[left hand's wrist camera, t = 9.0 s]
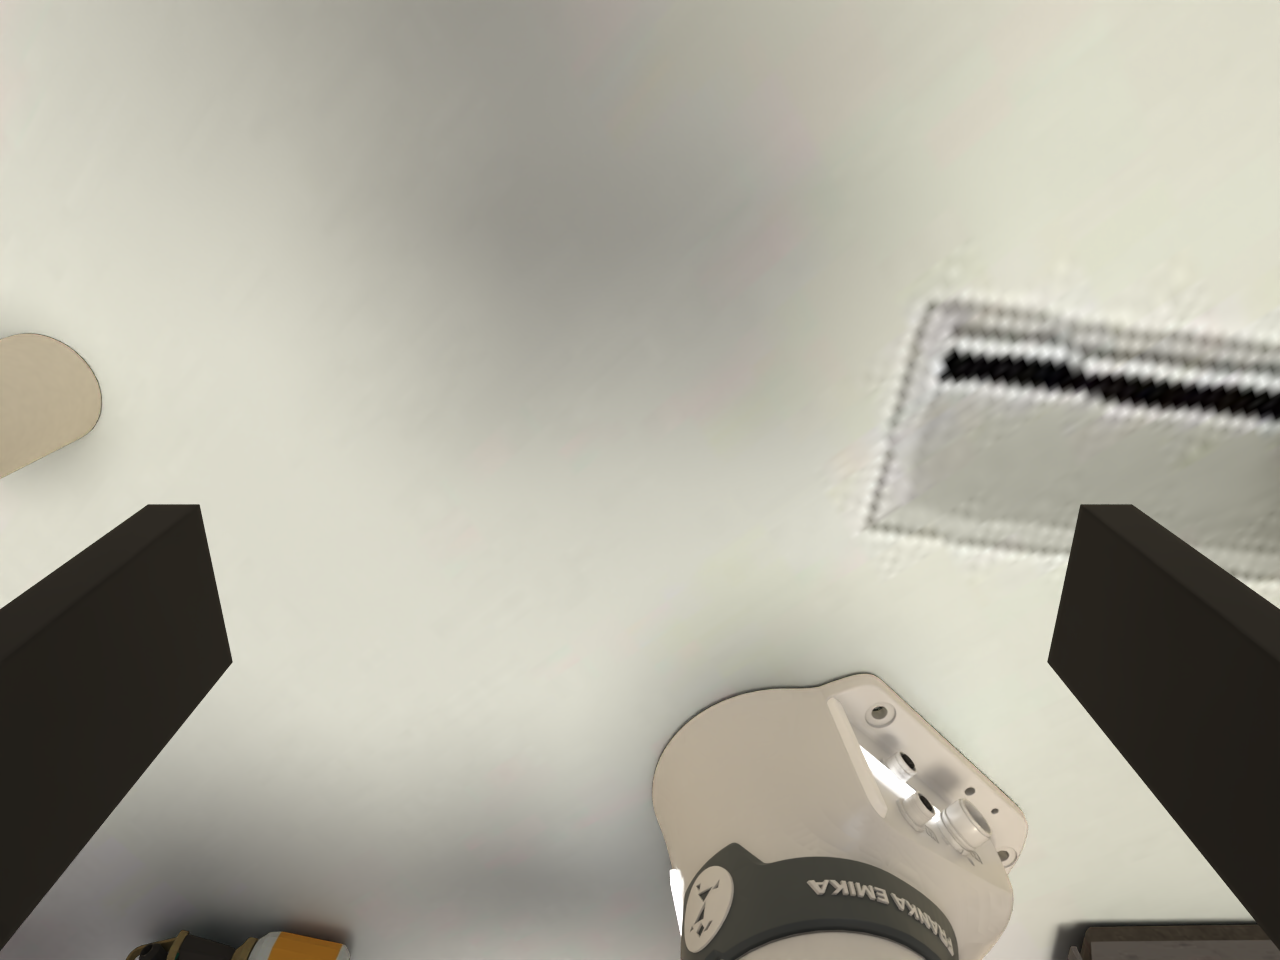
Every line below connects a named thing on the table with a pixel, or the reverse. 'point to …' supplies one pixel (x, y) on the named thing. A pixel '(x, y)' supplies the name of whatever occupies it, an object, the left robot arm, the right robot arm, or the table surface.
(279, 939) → the spray gun
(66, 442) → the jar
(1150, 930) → the toy
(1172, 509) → the table surface
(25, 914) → the left robot arm
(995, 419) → the table surface
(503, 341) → the table surface
